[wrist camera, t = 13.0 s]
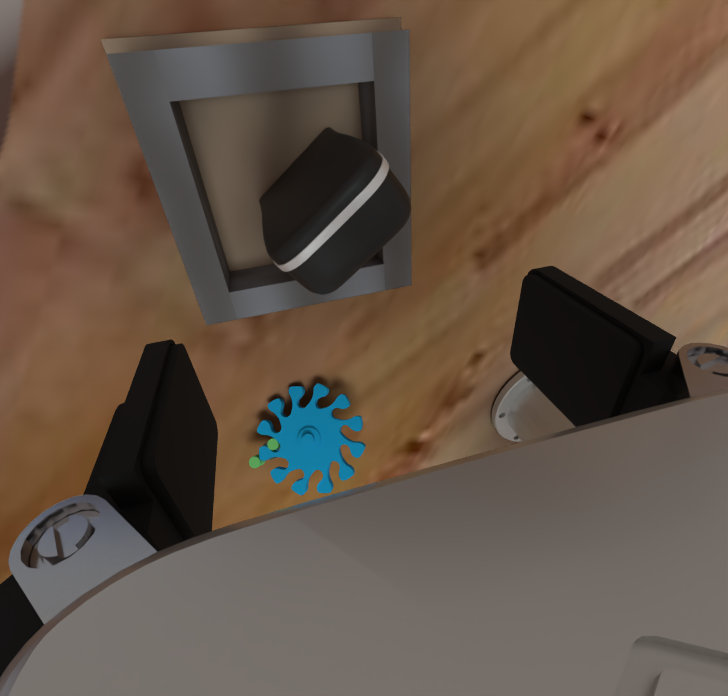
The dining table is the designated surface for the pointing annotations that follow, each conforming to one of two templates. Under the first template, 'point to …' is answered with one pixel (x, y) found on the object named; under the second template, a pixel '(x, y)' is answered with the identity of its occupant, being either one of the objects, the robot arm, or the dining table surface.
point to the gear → (309, 439)
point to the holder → (261, 142)
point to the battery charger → (332, 211)
